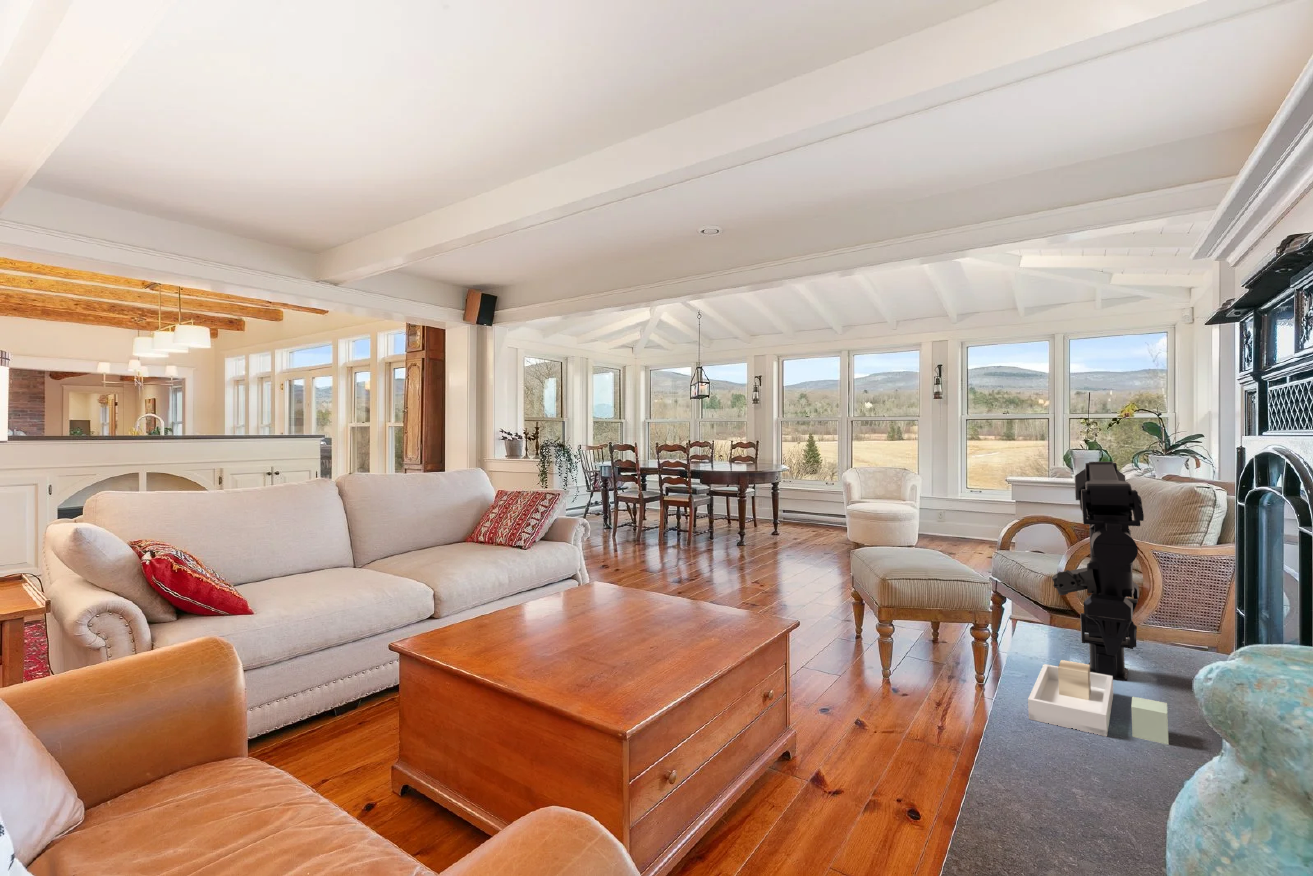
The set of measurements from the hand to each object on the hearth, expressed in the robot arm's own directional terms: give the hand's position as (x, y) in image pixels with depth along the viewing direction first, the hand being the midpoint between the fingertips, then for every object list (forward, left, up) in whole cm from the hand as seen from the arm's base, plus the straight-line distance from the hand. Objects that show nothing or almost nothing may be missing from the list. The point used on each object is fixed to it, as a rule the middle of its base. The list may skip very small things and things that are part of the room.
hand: (1114, 647), depth 105 cm
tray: (-2, -7, -13) cm, 14 cm away
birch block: (-6, -7, -12) cm, 15 cm away
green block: (+3, +4, -13) cm, 14 cm away
